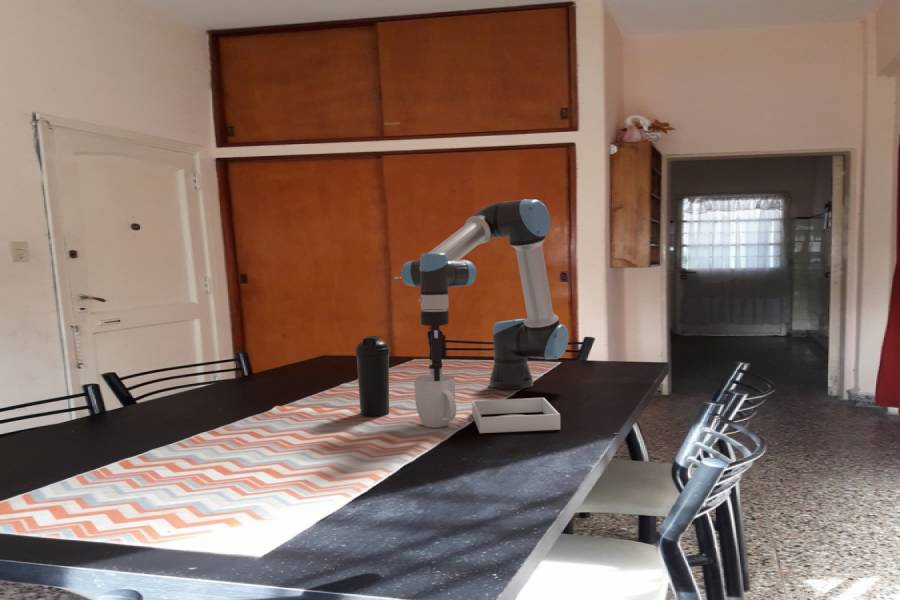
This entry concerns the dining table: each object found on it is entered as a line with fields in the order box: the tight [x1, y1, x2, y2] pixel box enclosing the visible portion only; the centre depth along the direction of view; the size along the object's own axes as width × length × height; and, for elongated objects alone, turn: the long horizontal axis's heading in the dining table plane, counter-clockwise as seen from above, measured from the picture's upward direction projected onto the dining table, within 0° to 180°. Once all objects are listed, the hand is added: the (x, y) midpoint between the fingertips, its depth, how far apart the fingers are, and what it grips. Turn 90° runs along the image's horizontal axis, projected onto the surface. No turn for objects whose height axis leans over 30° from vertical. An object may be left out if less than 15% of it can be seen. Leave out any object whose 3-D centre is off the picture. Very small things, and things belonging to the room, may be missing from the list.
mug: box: [414, 373, 457, 429], centre depth 186 cm, size 15×11×13 cm
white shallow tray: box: [471, 397, 561, 434], centre depth 189 cm, size 21×21×4 cm
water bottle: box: [354, 335, 391, 418], centre depth 203 cm, size 10×10×23 cm
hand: (435, 388), depth 186 cm, fingers open, 13 cm apart
